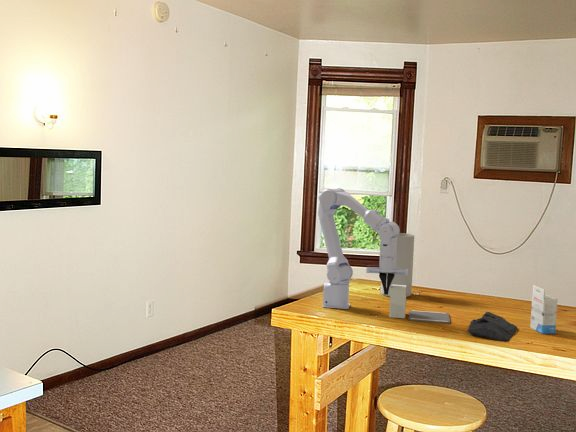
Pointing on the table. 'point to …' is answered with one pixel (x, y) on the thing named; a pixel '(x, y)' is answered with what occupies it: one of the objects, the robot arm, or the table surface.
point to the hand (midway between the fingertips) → (386, 294)
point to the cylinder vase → (403, 262)
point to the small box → (397, 301)
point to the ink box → (543, 312)
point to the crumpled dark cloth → (492, 327)
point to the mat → (429, 316)
